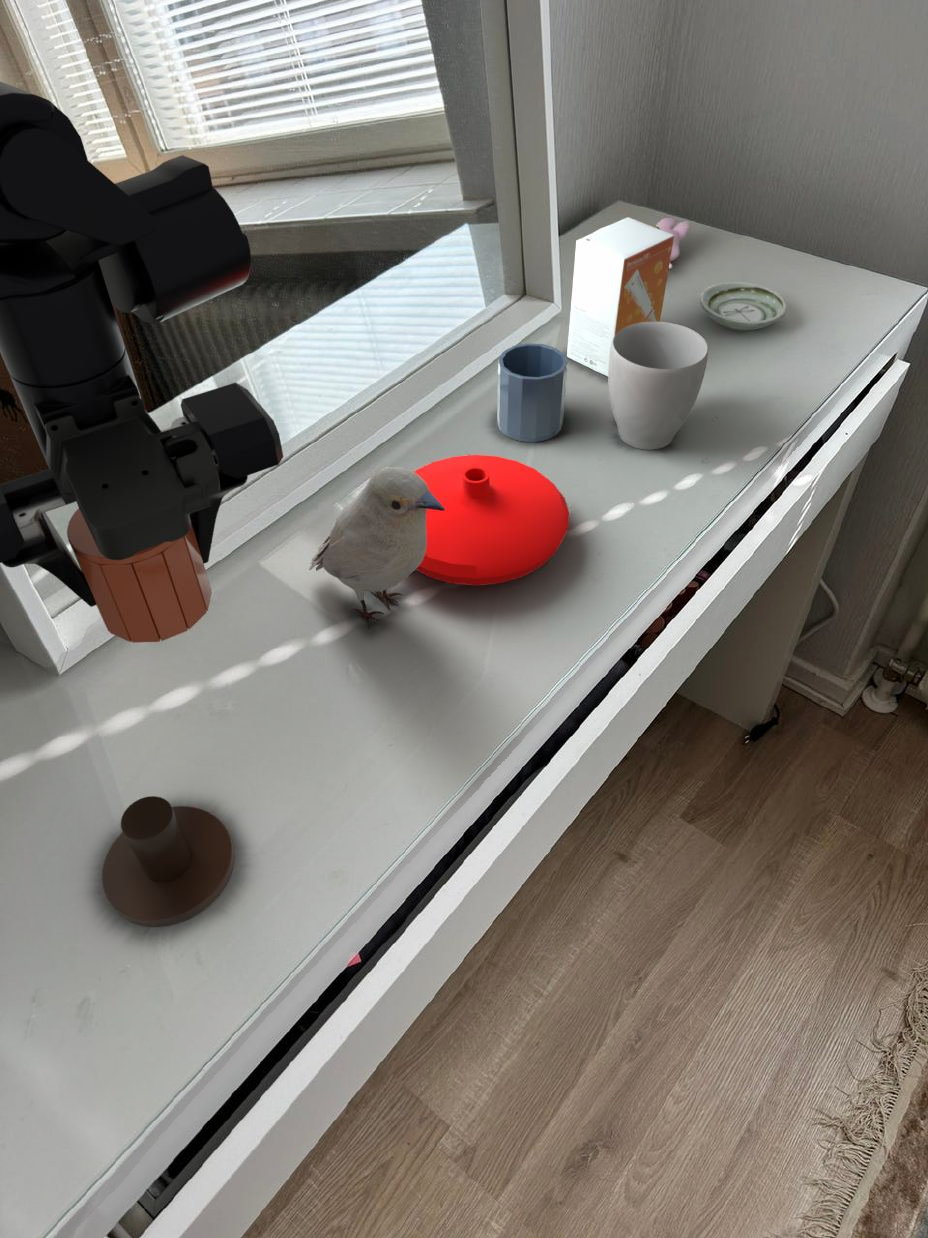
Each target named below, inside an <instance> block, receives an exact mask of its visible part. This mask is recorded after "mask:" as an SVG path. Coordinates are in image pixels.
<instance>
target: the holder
mask: <svg viewBox="0 0 928 1238" xmlns="http://www.w3.org/2000/svg"><path fill="white" fill-rule="evenodd" d="M120 828H121V832H120V834H119V835H118V836H117V837H116V838H115V840H114V841H113V842H112V843H111V846H110V847H109V849H108V851H107V853H106V856H105V858H104V861H103V866H102V872H101V880H102V888H103V891H104V895H105V897H106V899H107V901H108V902H109V903H110V905H111V906H112V908H113V910H114V911H115V912H117V913H118V915H120V917H121V918H123V919H125V920H127V921H129V922H131V923H133V924H137V925H140V926H146V927H166V926H172V925H176V924H180V923H182V922H185V921H188V920H189V919H191V918H193V917H195V916H197V915H198V914H200V913H202V912H203V911H204V910H206V909H207V908H209V906H210V905H212V904H213V903H214V902H215V901H216V900H217V899H218V897H219V896H220V895H221V894H222V892H223V891H224V889H225V888H226V886H227V885H228V883H229V880H230V878H231V875H232V873H233V870H234V869H233V868H234V864H235V849H234V843H233V840H232V838H231V835H230V833H229V831H228V829H227V827H226V825H225V824H224V823H223V822H222V821H221V819H219V818H218V817H217V816H215V815H214V814H212V813H211V812H209V811H207V810H204V809H202V808H199V807H194V806H187V805H177V806H172V804H171V803H170V801H168V800H167V799H166V798H163V797H161V796H156V795H151V796H145V797H141V798H139V799H136V800H135V801H134V802H132V803H131V804H129V806H128V807H127V808H126V809H125V810H124V812H123V813H122V816H121V819H120Z"/></svg>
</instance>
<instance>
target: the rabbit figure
mask: <svg viewBox="0 0 928 1238" xmlns="http://www.w3.org/2000/svg"><path fill="white" fill-rule="evenodd" d="M677 222H678V220H677V219H675V218H673V217H665V218H662V219H660V220H659V221H658V222H657V223H656V225H655V226H654V227H655V228H657V229H660V230H662V231H665V232H667V233H670V234H672V235H674V239H673V246H672V252H671V258H670V264H669V270H671V269H672V268H673V264H672V263H671V262H673V261H675V260H676V259H677V258H679V256H680V254H681V253H680V242H681V241H682V240H683V239H685V237H687V235H688V233H689V230H690V228H691V223H690V221H681V222H679V223H678V224H676V223H677Z"/></svg>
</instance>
